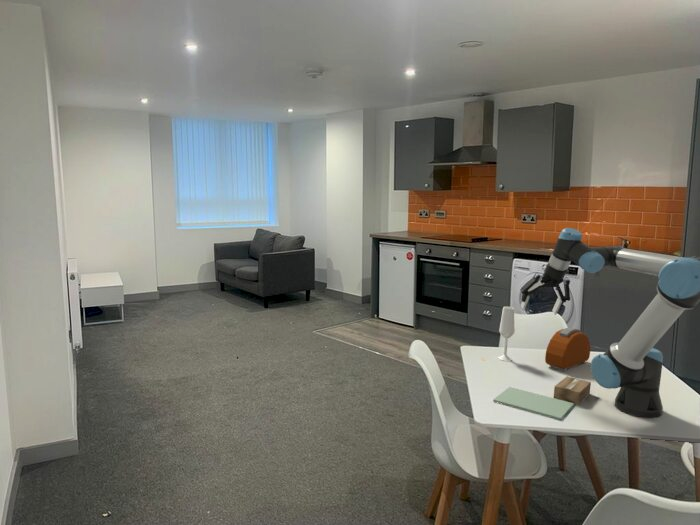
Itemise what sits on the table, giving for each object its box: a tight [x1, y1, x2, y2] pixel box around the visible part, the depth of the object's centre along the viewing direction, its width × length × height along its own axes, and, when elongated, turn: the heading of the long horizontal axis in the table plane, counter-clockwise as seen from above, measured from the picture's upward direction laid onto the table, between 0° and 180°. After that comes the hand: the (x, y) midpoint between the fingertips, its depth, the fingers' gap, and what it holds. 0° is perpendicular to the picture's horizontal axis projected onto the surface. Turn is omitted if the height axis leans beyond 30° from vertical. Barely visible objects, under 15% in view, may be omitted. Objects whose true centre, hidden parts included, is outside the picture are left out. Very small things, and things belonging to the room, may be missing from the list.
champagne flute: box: [497, 306, 516, 362], centre depth 241 cm, size 7×7×24 cm
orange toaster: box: [544, 327, 591, 372], centre depth 236 cm, size 23×9×17 cm, turn 129°
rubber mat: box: [493, 386, 575, 421], centre depth 194 cm, size 24×16×1 cm, turn 53°
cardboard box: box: [553, 375, 592, 406], centre depth 201 cm, size 9×14×5 cm, turn 140°
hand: (538, 310), depth 216 cm, fingers open, 13 cm apart
